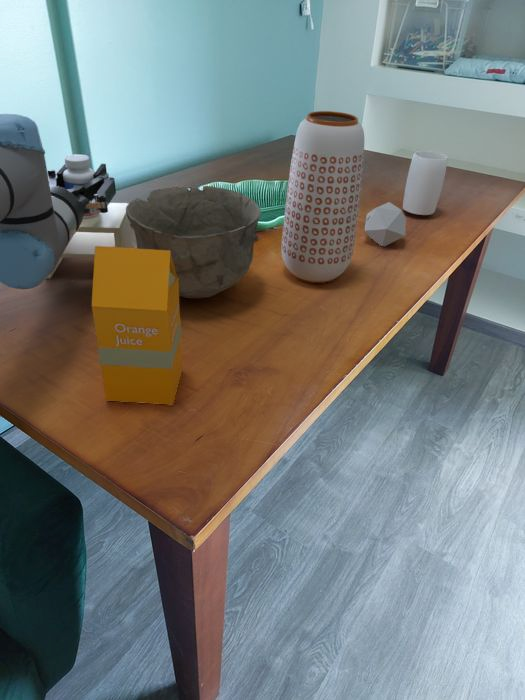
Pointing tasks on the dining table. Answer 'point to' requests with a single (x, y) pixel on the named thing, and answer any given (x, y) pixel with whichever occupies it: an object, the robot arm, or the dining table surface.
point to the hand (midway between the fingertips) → (87, 170)
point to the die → (385, 224)
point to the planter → (323, 196)
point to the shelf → (100, 233)
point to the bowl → (199, 234)
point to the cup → (424, 182)
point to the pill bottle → (78, 175)
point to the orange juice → (137, 324)
